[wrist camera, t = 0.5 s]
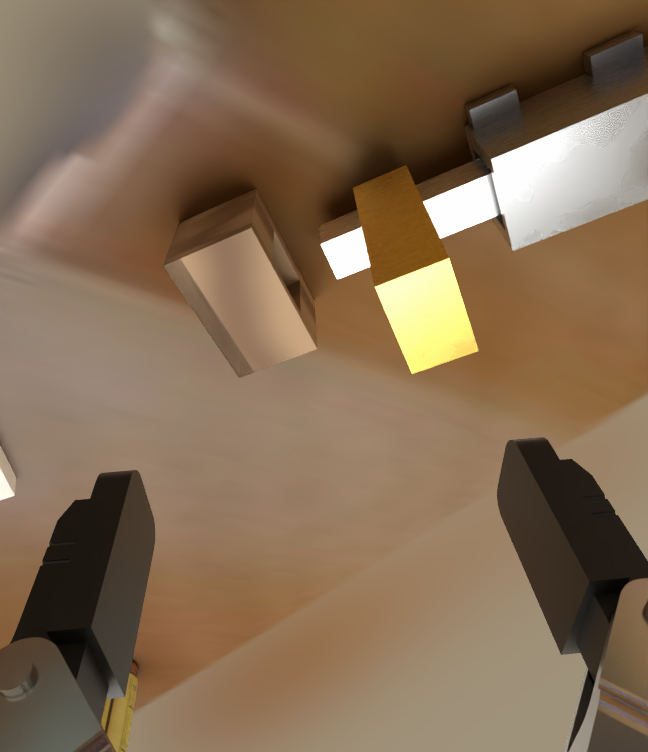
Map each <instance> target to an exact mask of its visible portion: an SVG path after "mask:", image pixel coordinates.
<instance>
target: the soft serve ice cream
mask: <svg viewBox="0 0 648 752" xmlns="http://www.w3.org/2000/svg"><path fill="white" fill-rule="evenodd" d="M15 485H16V477H15V474H14V472H13V470H12V468H11V466H10V464H9V462H8V460H7V458H6V456H5V454H4V452H3V450H2V448H1V446H0V500H3V499H6V498H9V497H12V496H15Z"/></svg>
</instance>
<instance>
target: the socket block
mask: <svg viewBox="0 0 648 752" xmlns="http://www.w3.org/2000/svg"><path fill="white" fill-rule="evenodd" d="M163 267H164V268H165V270H166V271H167V273H168V274H169V276H170V277H171V279H172V280H173V282H174V283H175V285H176V286H177V287H178V289H179V290H180V292H181V293H182V295H183V296H184V298H185V299H186V301H187V302H188V304H189V305H190V307H191V308H192V310H193V311H194V312H195V314H196V315H197V317H198V318H199V320H200V321H201V323H202V324H203V326H204V327H205V329H206V330H207V332H208V333H209V334H210V336H211V337H212V339H213V340H214V342H215V343H216V345H217V346H218V348H219V349H220V351H221V352H222V354H223V355H224V357H225V358H226V359H227V361H228V362H229V364H230V365H231V367H232V368H233V370H234V371H235V373H236V374H237V376H238V377H239V378H240V377H243V376H246V375H248V374H251V373H254V372H256V371H259V370H262V369H264V368H267V367H270V366H273V365H275V364H278V363H281V362H283V361H286V360H289V359H291V358H294V357H297V356H299V355H302V354H305V353H307V352H310V351H313V350H315V349H317V337H316V320H315V303H314V299H313V297H312V295H311V293H310V291H309V290H308V288H307V286H306V284H305V282H304V280H303V278H302V276H301V274H300V272H299V270H298V268H297V266H296V264H295V262H294V260H293V258H292V256H291V254H290V253H289V251H288V249H287V247H286V245H285V243H284V241H283V239H282V237H281V235H280V233H279V231H278V229H277V227H276V225H275V223H274V221H273V219H272V217H271V216H270V214H269V212H268V210H267V208H266V206H265V204H264V202H263V200H262V198H261V196H260V194H259V192H258V190H257V188H256V189H254V190H252V191H249V192H247V193H245V194H243V195H241V196H238V197H236V198H234V199H232V200H229V201H227V202H225V203H223V204H221V205H218V206H216V207H214V208H212V209H209V210H207V211H205V212H203V213H201V214H198V215H196V216H194V217H192V218H189V219H187V220H185V221H183V222H181V223H179V224H178V227H177V230H176V232H175V235H174V238H173V241H172V243H171V246H170V249H169V251H168V254H167V257H166V259H165V262H164V265H163Z"/></svg>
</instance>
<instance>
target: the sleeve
mask: <svg viewBox="0 0 648 752" xmlns="http://www.w3.org/2000/svg"><path fill="white" fill-rule="evenodd" d="M583 61H584V69H585V74H582V75H580V76H578V77H575V78H573V79H571V80H569V81H566V82H564V83H562V84H560V85H557V86H555V87H553V88H550V89H548V90H546V91H544V92H541V93H539V94H537V95H534V96H532V97H530V98H528V99H525V100H523V101H521V102H519V99H518V94H517V89H515V88H514V87H513V86H511V85H509V86H507V87H505V88H502V89H500V90H498V91H496V92H493V93H491V94H489V95H487V96H484V97H482V98H480V99H478V100H475V101H473V102H471V103H469V104H466V105H465V108H466V112H467V116H468V120H469V124H468V125H466V126H464V129H465V133H466V136H467V140H468V144H469V148H470V152H471V156H472V160H473V161H474V160H476V159H478V158H482V160H483V161H484V162H485V163H486V165H487V166H488V167H489V169H490V170H491V173H492V177H493V181H494V185H495V190H496V194H497V198H498V202H499V206H500V210H501V215H498V216H496V217H493V218H491V219H492V220H493V222H494V223H495V225H496V226H497V228H498V229H499V231H500V232H501V234H502V235H503V237H504V238H505V240H506V241H507V243H508V244H509V246H510V247H511V249H512V250H513V251H514V250H516V249H519V248H522V247H524V246H527V245H530V244H532V243H535V242H537V241H540V240H543V239H545V238H548V237H550V236H553V235H556V234H558V233H561V232H563V231H566V230H569V229H571V228H574V227H577V226H579V225H582V224H584V223H587V222H590V221H592V220H595V219H597V218H600V217H603V216H605V215H608V214H611V213H613V212H616V211H618V210H621V209H624V208H626V207H629V206H631V205H634V204H637V203H639V202H642V201H644V200H647V199H648V46H646V47H644V48H643V34H642V33H639V32H636V31H633V30H632V31H630V32H628V33H626V34H623V35H621V36H619V37H617V38H614V39H612V40H610V41H608V42H605V43H603V44H601V45H599V46H597V47H594V48H592V49H590V50H588V51H585V52H583Z"/></svg>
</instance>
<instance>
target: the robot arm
mask: <svg viewBox="0 0 648 752" xmlns="http://www.w3.org/2000/svg"><path fill="white" fill-rule="evenodd" d="M497 500H498V506H499V511H500V514H501V517H502V519H503V521H504V524H505V526H506V528H507V531H508V533H509V535H510V538H511V540H512V542H513V545H514V547H515V549H516V552H517V554H518V556H519V559H520V561H521V563H522V565H523V568H524V570H525V572H526V575H527V577H528V579H529V582H530V584H531V586H532V589H533V591H534V593H535V595H536V598H537V600H538V602H539V605H540V607H541V609H542V612H543V614H544V616H545V619H546V621H547V623H548V625H549V628H550V630H551V632H552V635H553V637H554V639H555V642H556V644H557V646H558V649H559V651H560V653H561V655H563V654H573V653H581V654H582V656H583V659H584V661H585V663H586V665H587V669H586V672H585V675H584V678H583V682H582V686H581V689H580V693H579V697H578V701H577V704H576V708H575V712H574V716H573V720H572V723H571V727H570V731H569V735H568V738H567V742H566V746H565V750H564V752H648V561H647V559H646V558H645V556H644V555H643V553H642V552H641V550H640V549H639V547H638V546H637V544H636V543H635V541H634V539H633V538H632V536H631V535H630V533H629V532H628V531H627V529H626V527H625V526H624V524H623V522H622V521H621V519H620V518H619V516H618V515H616V514H615V510H614V509H613V507H612V505H611V504H610V502H609V501H608V500H607V499H605V495H604V493H603V492H602V490H601V488H600V487H599V486H598V484H597V483H596V481H595V479H594V478H593V476H592V475H591V474H590V473H588V472H587V471H586V470H585V469H583V468H582V467H581V466H580V465H578V464H577V463H576V462H575V461H573V460H572V459H567V460H560V459H559V458H558V456H557V454H556V453H555V451H554V449H553V448H552V446H551V444H550V443H549V441H548V440H547V439H545V438H543V437H542V438H530V439H518V440H509V441H508V443H507V445H506V448H505V453H504V458H503V463H502V468H501V473H500V478H499V483H498V489H497ZM49 544H50V546H49V547H47V550H46V553H45V555H44V558H43V561H42V562H43V565H42V566H40V569H39V571H38V574H37V576H36V579H35V582H34V584H33V587H32V590H31V592H30V595H29V598H28V600H27V603H26V606H25V608H24V611H23V613H22V616H21V619H20V621H19V624H18V627H17V629H16V632H15V634H14V637H13V639H12V641H11V642H10V644H9V645H7V646H5V647H4V648H2V649H1V650H0V752H116V751H115V749H114V747H113V745H112V743H111V742H110V740H109V738H108V736H107V734H106V732H105V731H104V729H103V727H102V725H101V721H102V716H103V711H104V707H105V702H106V699H113V698H123V697H125V695H126V689H127V684H128V679H129V674H130V669H131V664H132V658H133V653H134V648H135V643H136V638H137V633H138V628H139V622H140V617H141V612H142V607H143V602H144V597H145V591H146V586H147V581H148V576H149V571H150V566H151V560H152V555H153V550H154V544H155V524H154V518H153V515H152V511H151V508H150V505H149V502H148V498H147V495H146V492H145V489H144V485H143V482H142V479H141V476H140V474H139V472H138V471H137V470H132V471H120V472H108V473H101V474H100V475H99V476H98V478H97V480H96V483H95V486H94V489H93V492H92V495H91V498H90V499H84V500H75V501H74V502H73V503H72V505H71V506H70V507H69V508H68V509H67V510H66V511H65V513H64V514H63V515H62V516H61V517H60V518H59V520H58V521H57V524H56V526H55V529H54V532H53V534H52V537H51V540H50V542H49Z"/></svg>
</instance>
